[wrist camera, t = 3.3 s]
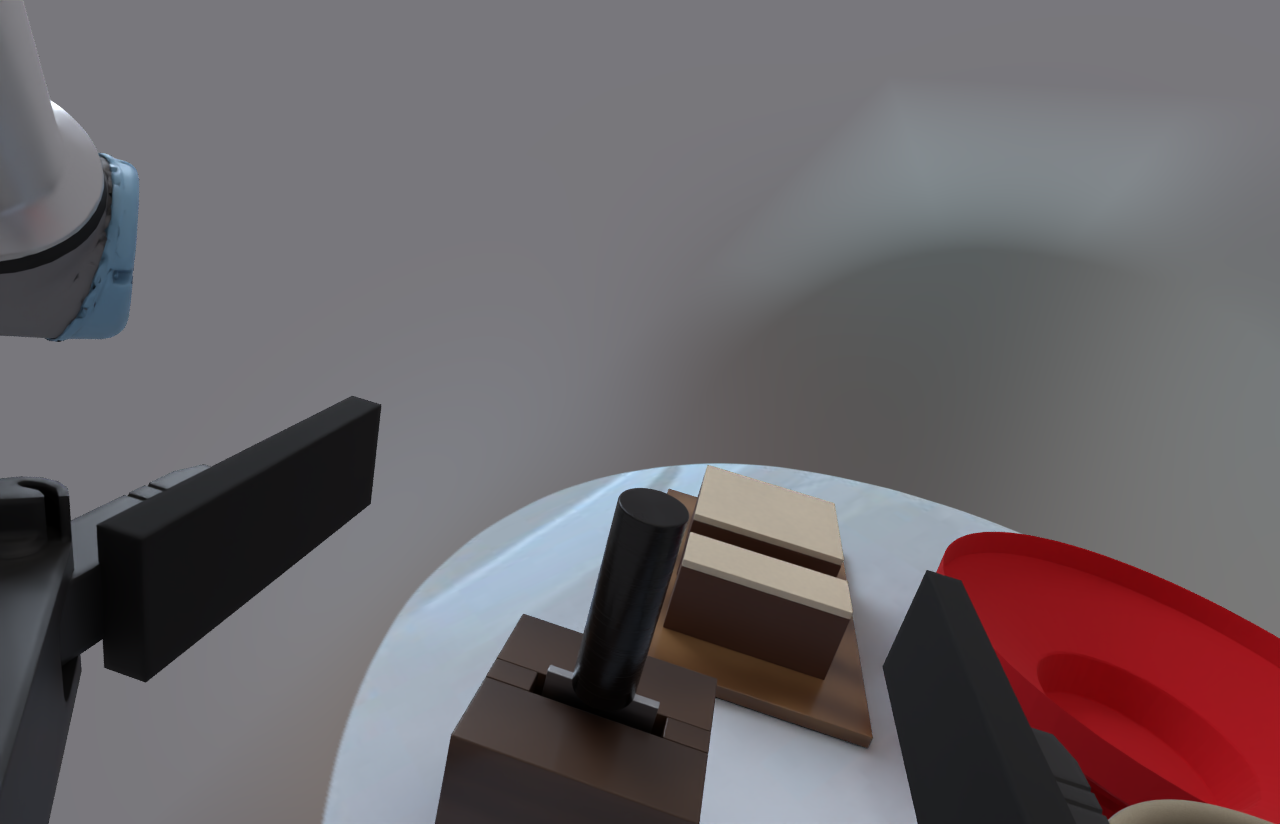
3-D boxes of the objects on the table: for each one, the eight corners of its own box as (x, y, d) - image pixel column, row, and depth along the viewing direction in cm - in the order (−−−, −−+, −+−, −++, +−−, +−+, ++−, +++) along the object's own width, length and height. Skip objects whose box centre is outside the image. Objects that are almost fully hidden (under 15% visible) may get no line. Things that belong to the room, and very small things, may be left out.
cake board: (867, 748, 45) (873, 737, 44) (607, 660, 46) (610, 649, 46) (837, 549, 69) (840, 541, 68) (666, 496, 71) (668, 488, 70)
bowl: (1280, 1149, 29) (1432, 1008, 25) (812, 650, 53) (856, 542, 49) (1454, 900, 45) (1562, 791, 41) (1032, 602, 68) (1078, 517, 65)
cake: (818, 621, 55) (844, 559, 53) (676, 575, 56) (695, 513, 54) (813, 557, 64) (834, 503, 62) (690, 519, 65) (707, 464, 63)
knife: (601, 891, 31) (714, 544, 24) (499, 853, 32) (582, 502, 25) (614, 836, 34) (720, 509, 27) (520, 802, 34) (600, 472, 28)
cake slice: (824, 680, 48) (853, 613, 46) (662, 627, 50) (683, 558, 47) (821, 645, 52) (848, 581, 50) (670, 596, 53) (690, 531, 51)
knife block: (637, 987, 29) (699, 824, 25) (419, 903, 30) (450, 735, 26) (666, 822, 36) (717, 678, 33) (491, 759, 37) (523, 613, 34)
